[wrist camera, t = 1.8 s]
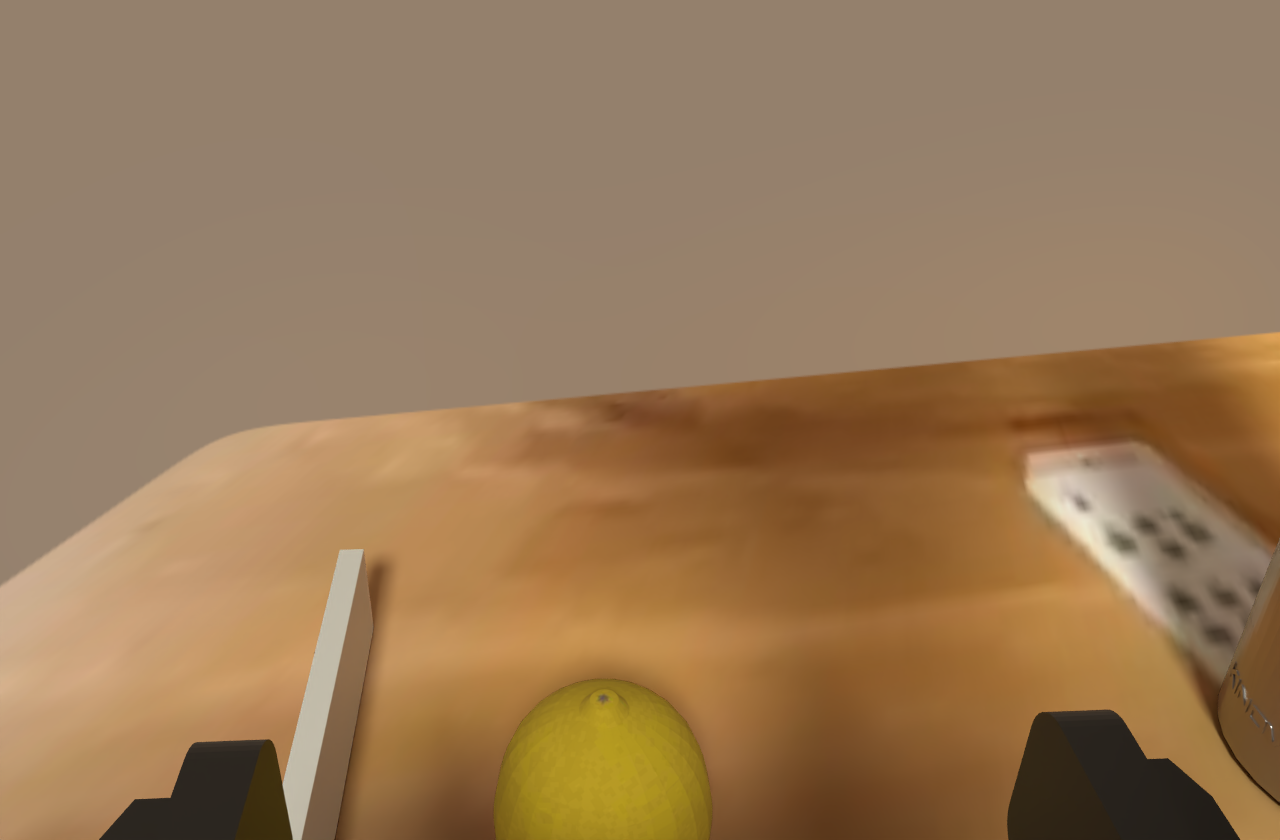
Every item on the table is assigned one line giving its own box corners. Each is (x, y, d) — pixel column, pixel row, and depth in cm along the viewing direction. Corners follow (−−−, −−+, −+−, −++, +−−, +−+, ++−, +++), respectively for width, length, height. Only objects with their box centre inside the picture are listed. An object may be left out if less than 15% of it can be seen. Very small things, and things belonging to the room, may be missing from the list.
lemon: (508, 827, 33) (497, 619, 29) (696, 828, 33) (712, 620, 29) (491, 1010, 28) (474, 791, 24) (711, 1008, 28) (731, 790, 24)
